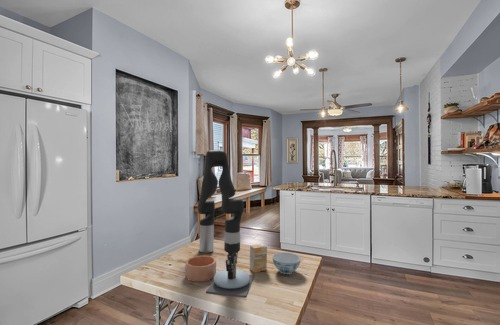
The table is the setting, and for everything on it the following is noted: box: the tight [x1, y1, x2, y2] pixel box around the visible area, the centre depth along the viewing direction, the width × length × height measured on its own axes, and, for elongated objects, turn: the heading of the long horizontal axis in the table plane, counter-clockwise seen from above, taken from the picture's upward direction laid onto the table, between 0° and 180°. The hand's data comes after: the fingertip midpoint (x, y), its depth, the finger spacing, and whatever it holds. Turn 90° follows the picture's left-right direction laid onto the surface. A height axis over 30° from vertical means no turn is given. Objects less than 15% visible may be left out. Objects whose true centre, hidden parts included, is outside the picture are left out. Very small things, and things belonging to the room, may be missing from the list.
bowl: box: [185, 255, 217, 283], centre depth 124 cm, size 15×15×7 cm
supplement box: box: [249, 243, 268, 273], centre depth 131 cm, size 8×5×13 cm, turn 118°
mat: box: [206, 274, 255, 298], centre depth 115 cm, size 20×18×1 cm
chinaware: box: [272, 251, 302, 275], centre depth 129 cm, size 15×15×8 cm
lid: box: [213, 266, 250, 289], centre depth 115 cm, size 17×17×6 cm
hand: (231, 276), depth 115 cm, fingers closed on lid, 4 cm apart
